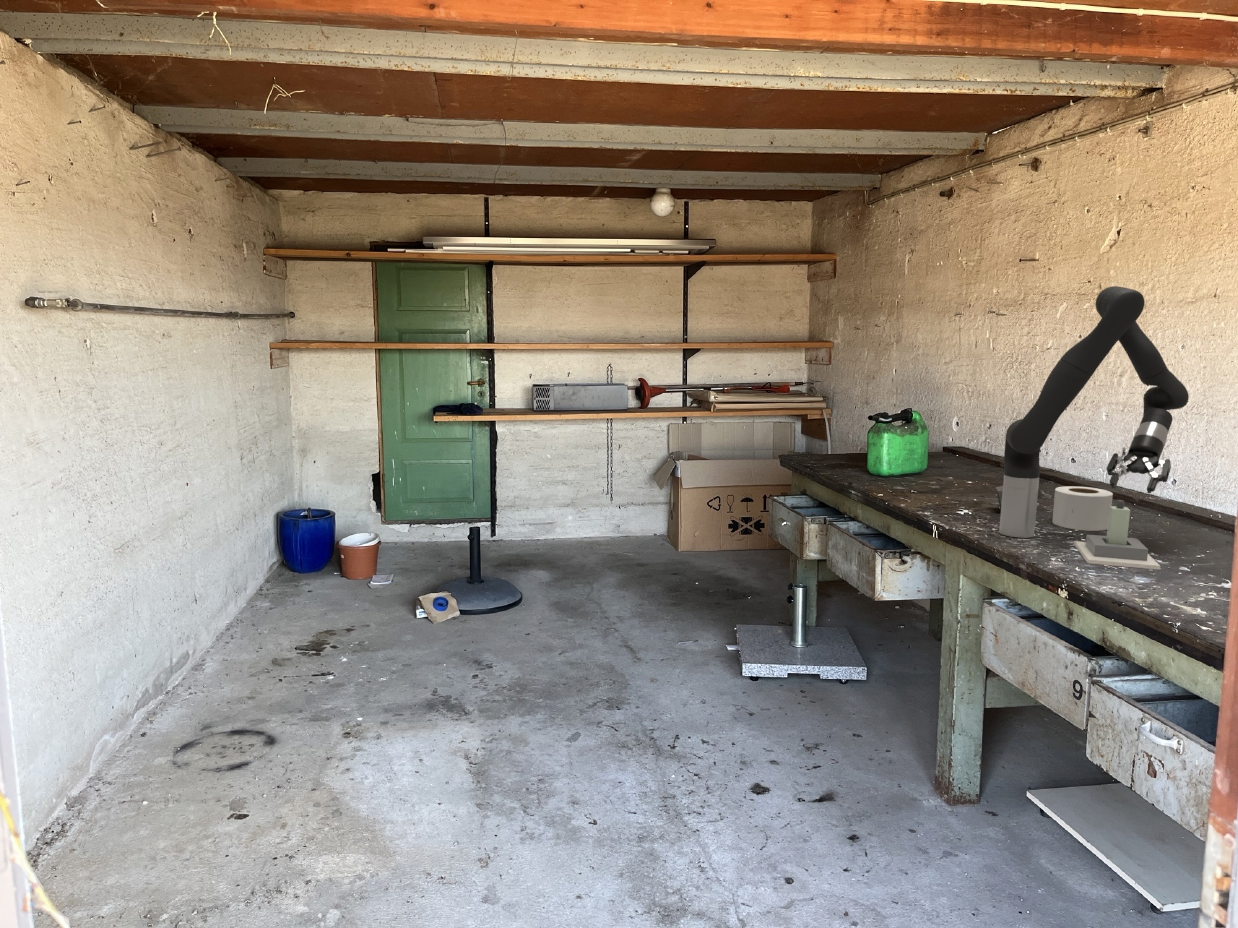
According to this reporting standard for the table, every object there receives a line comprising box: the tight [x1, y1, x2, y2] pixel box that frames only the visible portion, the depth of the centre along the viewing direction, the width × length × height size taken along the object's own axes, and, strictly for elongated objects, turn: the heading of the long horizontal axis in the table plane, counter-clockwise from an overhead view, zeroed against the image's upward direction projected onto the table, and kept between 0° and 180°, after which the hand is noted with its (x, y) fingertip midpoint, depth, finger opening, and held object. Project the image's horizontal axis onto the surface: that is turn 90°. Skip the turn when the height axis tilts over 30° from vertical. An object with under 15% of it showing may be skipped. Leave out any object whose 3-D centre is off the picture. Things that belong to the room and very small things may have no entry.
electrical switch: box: [995, 485, 1003, 510], centre depth 279 cm, size 9×5×9 cm, turn 162°
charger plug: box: [1106, 499, 1131, 545], centre depth 225 cm, size 4×4×14 cm
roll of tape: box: [1052, 485, 1114, 532], centre depth 261 cm, size 16×15×11 cm
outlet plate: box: [1073, 534, 1161, 571], centre depth 226 cm, size 20×16×4 cm
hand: (1130, 488), depth 229 cm, fingers open, 8 cm apart
